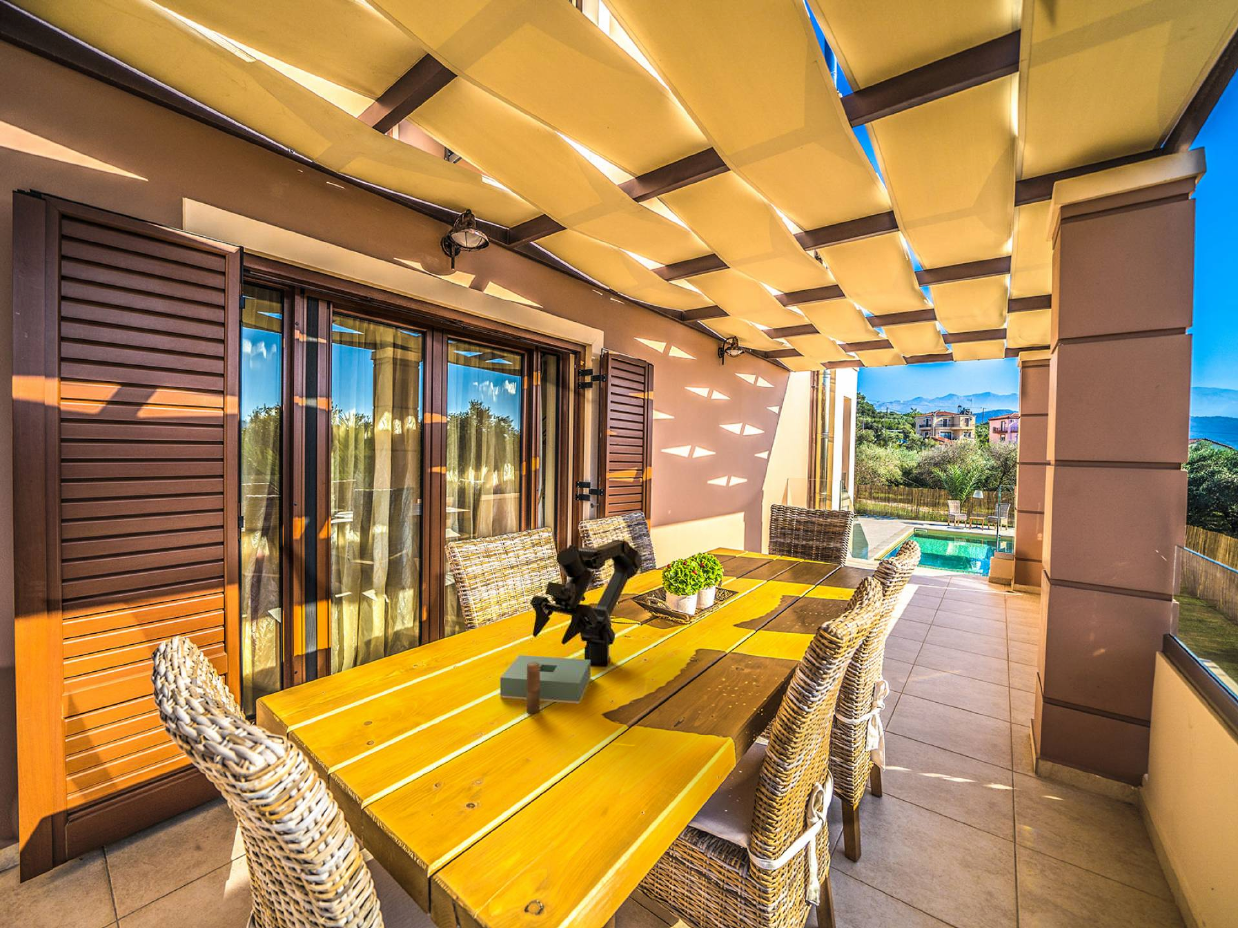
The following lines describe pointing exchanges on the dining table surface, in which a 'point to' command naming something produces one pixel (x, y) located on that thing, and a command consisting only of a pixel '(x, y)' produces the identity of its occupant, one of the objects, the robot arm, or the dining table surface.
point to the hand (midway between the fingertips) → (548, 639)
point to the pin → (533, 687)
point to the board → (548, 678)
